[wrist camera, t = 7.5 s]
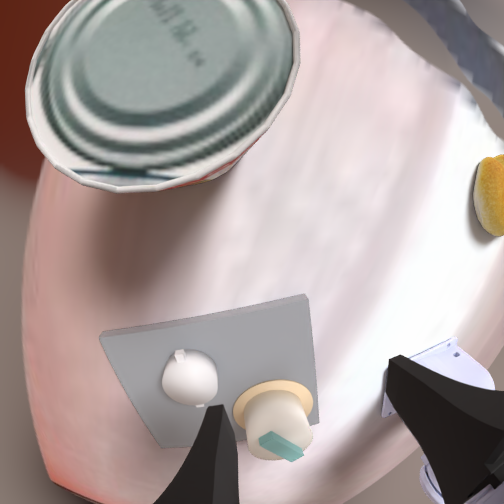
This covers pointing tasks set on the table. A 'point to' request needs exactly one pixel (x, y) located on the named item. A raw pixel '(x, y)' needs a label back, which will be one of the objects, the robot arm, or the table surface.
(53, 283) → the table surface
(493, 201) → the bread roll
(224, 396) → the post board
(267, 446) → the cap
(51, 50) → the canned food
